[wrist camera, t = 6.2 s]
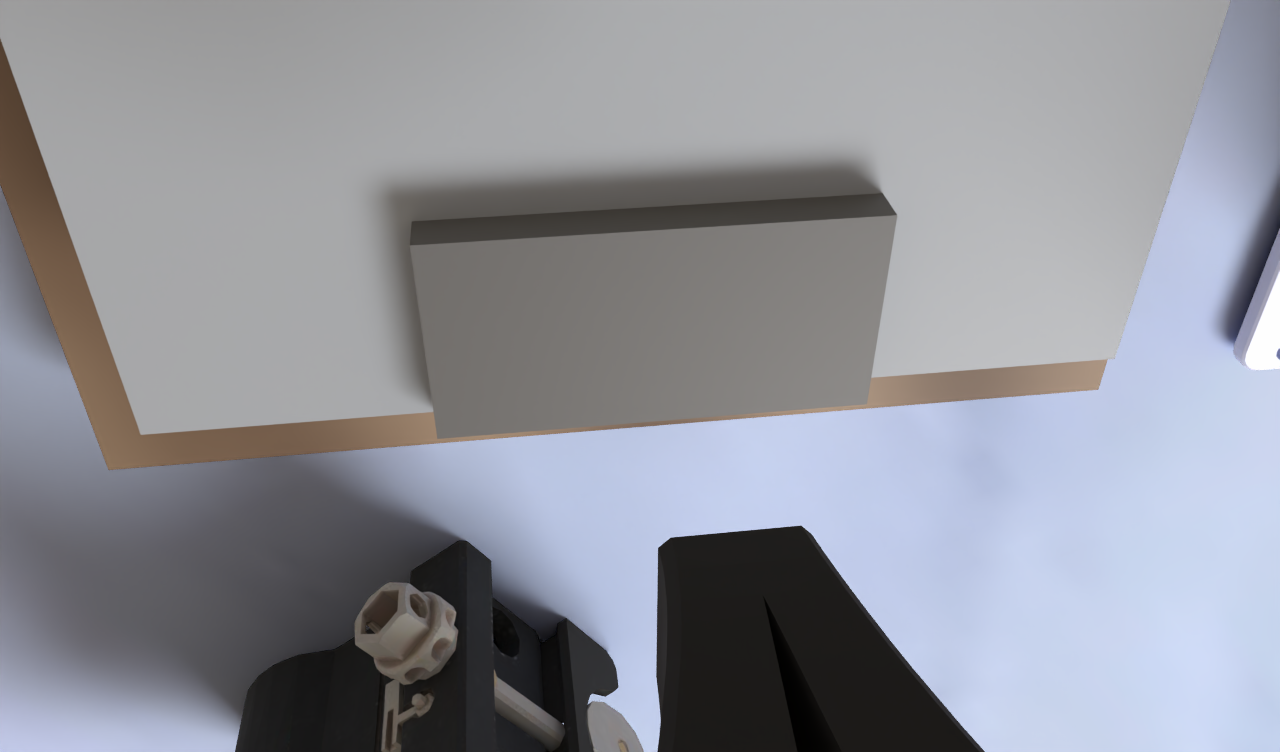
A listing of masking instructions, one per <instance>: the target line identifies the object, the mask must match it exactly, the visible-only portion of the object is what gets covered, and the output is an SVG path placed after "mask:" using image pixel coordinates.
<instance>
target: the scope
mask: <svg viewBox="0 0 1280 752" xmlns="http://www.w3.org/2000/svg"><path fill="white" fill-rule="evenodd" d="M366 625H367V626H368V627H369V629H368V630H366ZM365 630H366V631H365ZM493 635H494V637H495V639H496V641H494V642H493ZM617 688H618V680H617V672H616V667H615V665H614V663H613V660H612V659H611V657H610V656H609V654H608V653H607V651H605V650H604V649H603V648H602V647H601V646H599V645H598V644H597V643H596V642H594V641H593V640H592V639H591V638H590V637H588V636H587V635H586V634H585V633H584V632H582V631H581V630H580V629H579V628H577V627H576V626H575V625H574V624H573V623H571V622H570V621H569V620H568V619H565V620H563V621H562V622H560V623H558V626H557V632H556V635H555V636H553V637H552V638H550V639H548V640H547V641H545V642H543V643H542V644H540V642H539V640H538V637H537V634H536V631H534V630H533V629H532V628H531V627H529V626H528V625H527V624H525V623H524V622H523V621H522V620H520V619H519V618H518V617H516V616H515V615H514V614H513V613H511V612H510V611H509V610H508V609H506V608H505V607H504V606H502V605H501V604H500V603H499V602H497V601H496V600H495V599H494V598H492V575H491V560H489V559H488V558H487V557H486V556H484V555H483V554H482V553H481V552H480V551H478V550H477V549H476V548H475V547H473V546H472V545H471V544H470V543H468V542H466V541H458V542H456V543H455V544H453V545H452V546H450V547H448V548H447V549H445V550H444V551H442V552H441V553H439V554H437V555H436V556H434V557H433V558H431V559H430V560H428V561H426V562H425V563H423V564H422V565H420V566H419V567H417V568H415V569H414V570H412V571H411V579H410V584H409V583H399V582H388V583H387V584H385V585H383V586H382V587H381V588H380V589H379V590H377V591H376V592H375V593H374V594H373V595H371V596H370V597H369V598H368V600H367V601H366V603H365V605H364V606H363V608H362V610H361V611H360V613H359V615H358V616H357V618H356V620H355V638H353V639H351V640H350V641H348V642H346V643H345V644H343V645H341V646H340V647H338V648H337V649H335V650H328V651H322V652H315V653H308V654H302V655H298V656H295V657H293V658H290V659H288V660H285V661H283V662H280V663H278V664H275V665H273V666H272V667H270V668H269V669H268V670H266V671H265V672H264V673H262V674H261V675H259V676H258V677H257V679H256V680H255V681H254V683H253V684H252V686H251V687H250V688H249V690H248V693H247V697H246V701H245V705H244V710H243V715H242V720H241V725H240V730H239V735H238V740H237V745H236V750H235V752H644V751H643V748H642V746H641V744H640V742H639V739H638V737H637V735H636V733H635V731H634V730H633V729H632V728H631V726H630V725H629V724H628V722H627V721H626V720H625V718H624V717H623V716H622V714H620V713H619V712H617V711H616V710H614V709H613V708H611V707H610V706H608V705H607V704H605V703H604V702H594V701H592V702H591V703H590V704H588V700H589V697H590V695H591V694H597V695H601V696H605V697H606V696H607V695H609V694H610V693H612V692H614V691H615V690H616V689H617ZM587 704H588V705H587ZM562 723H564V725H563V724H562Z"/></svg>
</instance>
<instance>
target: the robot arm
mask: <svg viewBox="0 0 1280 752" xmlns="http://www.w3.org/2000/svg"><path fill="white" fill-rule="evenodd" d="M1233 353H1234V355H1235V358H1236V359H1237V360H1238V361H1239V362H1240V363H1241V364H1242V365H1243V366H1245V367H1246V368H1248V369H1249V370H1267V369H1279V368H1280V229H1279V231H1278V234H1277V237H1276V239H1275V242H1274V244H1273V247H1272V249H1271V252H1270V254H1269V257H1268V260H1267V262H1266V265H1265V267H1264V270H1263V272H1262V275H1261V278H1260V280H1259V283H1258V285H1257V288H1256V290H1255V293H1254V295H1253V298H1252V301H1251V303H1250V306H1249V308H1248V311H1247V313H1246V316H1245V318H1244V321H1243V324H1242V326H1241V329H1240V331H1239V334H1238V336H1237V339H1236V342H1235V344H1234V350H1233ZM656 677H657V685H658V694H659V703H660V714H661V726H660V737H659V745H658V752H984V750H983V749H982V748H981V747H980V746H979V745H978V744H977V743H976V741H975V740H974V739H973V738H972V737H971V736H970V735H969V734H968V733H967V731H966V730H965V729H964V728H963V727H962V726H961V725H960V723H959V722H958V721H957V720H956V719H955V718H954V716H953V715H952V714H951V713H950V712H949V711H948V709H947V708H946V707H945V706H944V705H943V703H942V702H941V701H940V700H939V699H938V698H937V696H936V695H935V694H934V693H933V692H932V691H931V689H930V688H929V687H928V686H927V685H926V683H925V682H924V681H923V680H922V679H921V678H920V676H919V675H918V674H917V673H916V672H915V671H914V669H913V668H912V667H911V666H910V664H909V663H908V662H907V661H906V660H905V658H904V657H903V656H902V655H901V653H900V652H899V651H898V650H897V648H896V647H895V646H894V645H893V643H892V642H891V641H890V640H889V638H888V637H887V636H886V635H885V633H884V632H883V631H882V629H881V628H880V627H879V626H878V624H877V623H876V622H875V620H874V619H873V618H872V617H871V615H870V614H869V613H868V611H867V610H866V609H865V608H864V606H863V605H862V604H861V602H860V601H859V600H858V598H857V597H856V596H855V594H854V593H853V592H852V590H851V589H850V588H849V586H848V585H847V584H846V582H845V581H844V579H843V578H842V577H841V575H840V574H839V573H838V571H837V570H836V568H835V567H834V566H833V564H832V563H831V561H830V560H829V559H828V557H827V556H826V554H825V553H824V552H823V550H822V549H821V547H820V546H819V544H818V543H817V542H816V540H815V539H814V537H813V536H812V534H811V533H809V532H808V531H807V530H806V529H805V528H803V527H802V526H793V527H782V528H771V529H760V530H750V531H739V532H728V533H717V534H706V535H695V536H684V537H674V538H670V539H669V540H667V541H666V542H665V543H664V544H663V545H661V546H660V547H659V548H658V601H657V673H656Z"/></svg>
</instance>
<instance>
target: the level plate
mask: <svg viewBox="0 0 1280 752" xmlns="http://www.w3.org/2000/svg"><path fill="white" fill-rule="evenodd" d="M1230 1H1231V0H0V39H1V42H2V45H3V47H4V50H5V53H6V56H7V59H8V62H9V64H10V67H11V70H12V73H13V76H14V78H15V81H16V84H17V87H18V90H19V93H20V95H21V98H22V101H23V104H24V107H25V109H26V112H27V115H28V118H29V121H30V124H31V126H32V129H33V132H34V135H35V138H36V140H37V143H38V146H39V149H40V152H41V155H42V157H43V160H44V163H45V166H46V169H47V172H48V174H49V177H50V180H51V183H52V186H53V188H54V191H55V194H56V197H57V200H58V203H59V205H60V208H61V211H62V214H63V217H64V219H65V222H66V225H67V228H68V231H69V234H70V236H71V239H72V242H73V245H74V248H75V250H76V253H77V256H78V259H79V262H80V265H81V267H82V270H83V273H84V276H85V279H86V281H87V284H88V287H89V290H90V293H91V296H92V298H93V301H94V304H95V307H96V310H97V312H98V315H99V318H100V321H101V324H102V327H103V329H104V332H105V335H106V338H107V341H108V344H109V346H110V349H111V352H112V355H113V358H114V360H115V363H116V366H117V369H118V372H119V375H120V377H121V380H122V383H123V386H124V389H125V391H126V394H127V397H128V400H129V403H130V406H131V408H132V411H133V414H134V417H135V420H136V422H137V425H138V428H139V431H140V434H141V435H145V434H158V433H171V432H184V431H196V430H209V429H222V428H235V427H248V426H260V425H273V424H286V423H299V422H312V421H324V420H337V419H350V418H363V417H376V416H388V415H401V414H414V413H427V412H434V419H435V426H436V433H437V439H444V438H456V437H469V436H481V435H493V434H506V433H518V432H530V431H543V430H555V429H568V428H580V427H592V426H605V425H617V424H630V423H642V422H654V421H667V420H679V419H691V418H704V417H716V416H729V415H741V414H753V413H766V412H778V411H790V410H803V409H815V408H828V407H840V406H852V405H865V404H867V401H868V395H869V389H870V382H871V378H874V377H887V376H900V375H913V374H926V373H938V372H951V371H964V370H977V369H990V368H1002V367H1015V366H1028V365H1041V364H1053V363H1066V362H1079V361H1092V360H1105V359H1115V356H1116V353H1117V350H1118V347H1119V344H1120V341H1121V338H1122V334H1123V331H1124V328H1125V325H1126V322H1127V319H1128V316H1129V313H1130V310H1131V307H1132V304H1133V301H1134V297H1135V294H1136V291H1137V288H1138V285H1139V282H1140V279H1141V276H1142V273H1143V270H1144V267H1145V264H1146V260H1147V257H1148V254H1149V251H1150V248H1151V245H1152V242H1153V239H1154V236H1155V233H1156V230H1157V227H1158V223H1159V220H1160V217H1161V214H1162V211H1163V208H1164V205H1165V202H1166V199H1167V196H1168V193H1169V190H1170V186H1171V183H1172V180H1173V177H1174V174H1175V171H1176V168H1177V165H1178V162H1179V159H1180V156H1181V153H1182V149H1183V146H1184V143H1185V140H1186V137H1187V134H1188V131H1189V128H1190V125H1191V122H1192V119H1193V116H1194V112H1195V109H1196V106H1197V103H1198V100H1199V97H1200V94H1201V91H1202V88H1203V85H1204V82H1205V79H1206V75H1207V72H1208V69H1209V66H1210V63H1211V60H1212V57H1213V54H1214V51H1215V48H1216V45H1217V42H1218V38H1219V35H1220V32H1221V29H1222V26H1223V23H1224V20H1225V17H1226V14H1227V11H1228V8H1229V5H1230Z"/></svg>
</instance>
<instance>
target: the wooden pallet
mask: <svg viewBox="0 0 1280 752" xmlns="http://www.w3.org/2000/svg"><path fill="white" fill-rule="evenodd" d="M0 185H1V188H2V190H3V193H4V196H5V198H6V201H7V204H8V206H9V209H10V211H11V214H12V217H13V219H14V222H15V225H16V227H17V230H18V233H19V235H20V238H21V240H22V243H23V246H24V248H25V251H26V254H27V256H28V259H29V262H30V264H31V267H32V269H33V272H34V275H35V277H36V280H37V283H38V285H39V288H40V290H41V293H42V296H43V298H44V301H45V304H46V306H47V309H48V312H49V314H50V317H51V319H52V322H53V325H54V327H55V330H56V333H57V335H58V338H59V341H60V343H61V346H62V348H63V351H64V354H65V356H66V359H67V362H68V364H69V367H70V370H71V372H72V375H73V377H74V380H75V383H76V385H77V388H78V391H79V393H80V396H81V398H82V401H83V404H84V406H85V409H86V412H87V414H88V417H89V420H90V422H91V425H92V427H93V430H94V433H95V435H96V438H97V441H98V443H99V446H100V449H101V451H102V454H103V456H104V459H105V462H106V464H107V467H108V470H114V469H126V468H139V467H151V466H163V465H176V464H188V463H200V462H213V461H225V460H237V459H250V458H262V457H274V456H287V455H299V454H311V453H324V452H336V451H348V450H361V449H373V448H385V447H397V446H410V445H422V444H434V443H447V442H459V441H471V440H484V439H496V438H508V437H521V436H533V435H545V434H558V433H570V432H582V431H595V430H607V429H619V428H632V427H644V426H656V425H668V424H681V423H693V422H705V421H718V420H730V419H742V418H755V417H767V416H779V415H792V414H804V413H816V412H829V411H841V410H853V409H866V408H878V407H890V406H902V405H915V404H927V403H939V402H952V401H964V400H976V399H989V398H1001V397H1013V396H1026V395H1038V394H1050V393H1063V392H1075V391H1087V390H1098V389H1099V385H1100V382H1101V379H1102V376H1103V373H1104V369H1105V366H1106V363H1107V360H1108V359H1105V360H1092V361H1079V362H1066V363H1053V364H1041V365H1028V366H1015V367H1002V368H990V369H977V370H964V371H951V372H938V373H926V374H913V375H900V376H887V377H874V378H871V382H870V389H869V395H868V401H867V404H865V405H852V406H840V407H828V408H815V409H803V410H790V411H778V412H766V413H753V414H741V415H729V416H716V417H704V418H691V419H679V420H667V421H654V422H642V423H630V424H617V425H605V426H592V427H580V428H568V429H555V430H543V431H530V432H518V433H506V434H493V435H481V436H469V437H456V438H444V439H437V433H436V426H435V419H434V412H427V413H414V414H401V415H388V416H376V417H363V418H350V419H337V420H324V421H312V422H299V423H286V424H273V425H260V426H248V427H235V428H222V429H209V430H196V431H184V432H171V433H158V434H145V435H141V434H140V431H139V428H138V425H137V422H136V420H135V417H134V414H133V411H132V408H131V406H130V403H129V400H128V397H127V394H126V391H125V389H124V386H123V383H122V380H121V377H120V375H119V372H118V369H117V366H116V363H115V360H114V358H113V355H112V352H111V349H110V346H109V344H108V341H107V338H106V335H105V332H104V329H103V327H102V324H101V321H100V318H99V315H98V312H97V310H96V307H95V304H94V301H93V298H92V296H91V293H90V290H89V287H88V284H87V281H86V279H85V276H84V273H83V270H82V267H81V265H80V262H79V259H78V256H77V253H76V250H75V248H74V245H73V242H72V239H71V236H70V234H69V231H68V228H67V225H66V222H65V219H64V217H63V214H62V211H61V208H60V205H59V203H58V200H57V197H56V194H55V191H54V188H53V186H52V183H51V180H50V177H49V174H48V172H47V169H46V166H45V163H44V160H43V157H42V155H41V152H40V149H39V146H38V143H37V140H36V138H35V135H34V132H33V129H32V126H31V124H30V121H29V118H28V115H27V112H26V109H25V107H24V104H23V101H22V98H21V95H20V93H19V90H18V87H17V84H16V81H15V78H14V76H13V73H12V70H11V67H10V64H9V62H8V59H7V56H6V53H5V50H4V47H3V45H2V42H1V39H0Z"/></svg>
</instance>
